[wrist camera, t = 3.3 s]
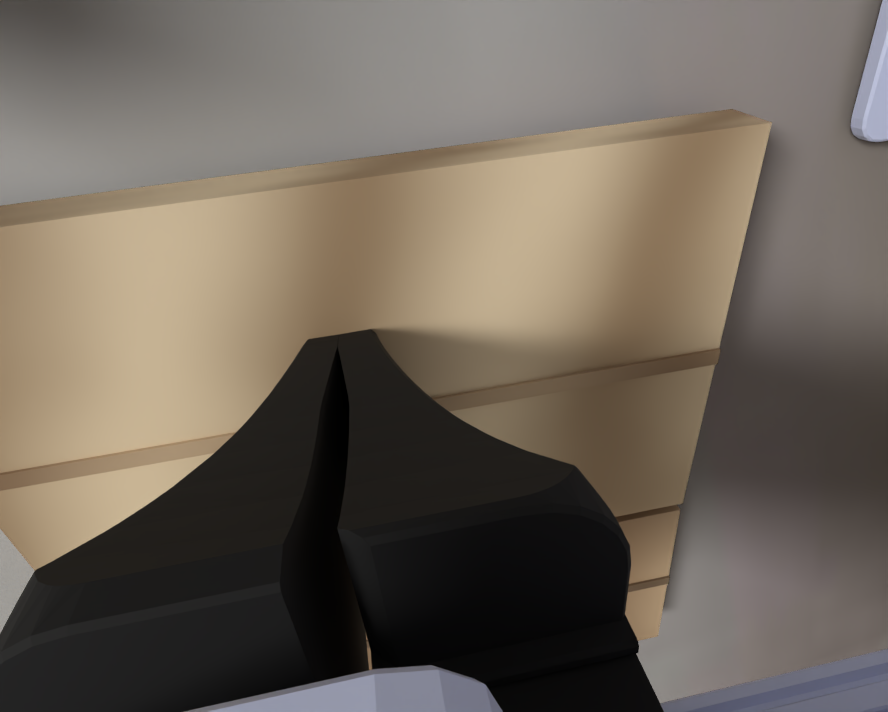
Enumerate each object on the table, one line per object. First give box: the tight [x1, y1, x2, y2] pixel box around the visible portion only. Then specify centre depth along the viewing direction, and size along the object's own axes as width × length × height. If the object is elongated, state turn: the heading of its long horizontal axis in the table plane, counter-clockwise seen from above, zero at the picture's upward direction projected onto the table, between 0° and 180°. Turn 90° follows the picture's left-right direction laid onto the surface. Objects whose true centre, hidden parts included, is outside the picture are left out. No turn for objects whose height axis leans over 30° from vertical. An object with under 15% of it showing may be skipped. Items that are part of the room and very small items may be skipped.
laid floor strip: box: [366, 505, 680, 670], centre depth 17 cm, size 16×6×1 cm, turn 95°
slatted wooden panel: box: [0, 109, 772, 570], centre depth 13 cm, size 16×10×1 cm, turn 95°
